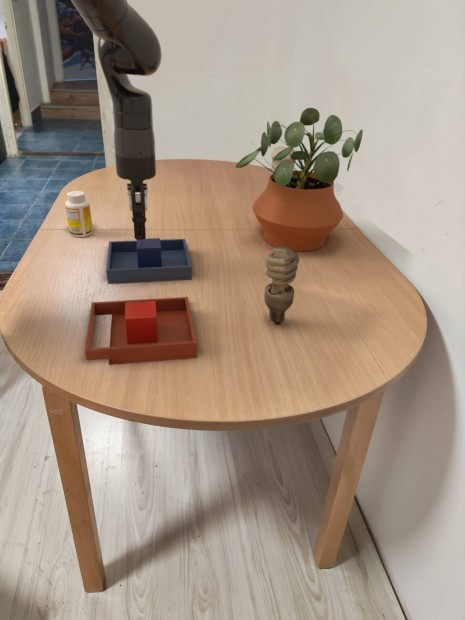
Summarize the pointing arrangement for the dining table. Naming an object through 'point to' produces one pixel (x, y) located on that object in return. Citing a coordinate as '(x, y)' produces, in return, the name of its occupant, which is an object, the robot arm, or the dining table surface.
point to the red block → (141, 322)
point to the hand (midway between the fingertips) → (139, 230)
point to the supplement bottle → (78, 214)
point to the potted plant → (301, 184)
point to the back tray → (126, 267)
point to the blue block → (149, 253)
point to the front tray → (171, 342)
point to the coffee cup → (286, 159)
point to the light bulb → (280, 282)
